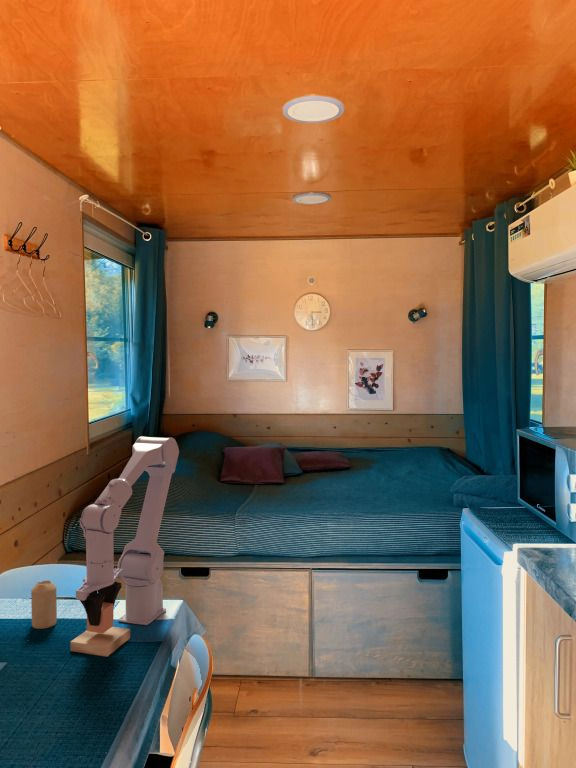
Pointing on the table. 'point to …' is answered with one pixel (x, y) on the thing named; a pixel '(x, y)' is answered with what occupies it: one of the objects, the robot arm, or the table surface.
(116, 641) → the birch block
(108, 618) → the terracotta block
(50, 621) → the candle
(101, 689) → the table surface
